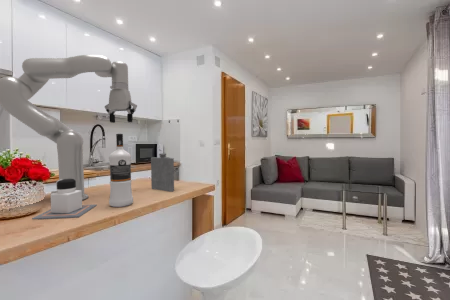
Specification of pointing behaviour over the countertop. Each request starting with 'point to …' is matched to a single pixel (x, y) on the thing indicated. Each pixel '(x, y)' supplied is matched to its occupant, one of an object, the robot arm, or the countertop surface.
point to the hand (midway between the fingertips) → (121, 122)
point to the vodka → (120, 176)
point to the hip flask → (162, 173)
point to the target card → (64, 215)
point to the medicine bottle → (66, 197)
